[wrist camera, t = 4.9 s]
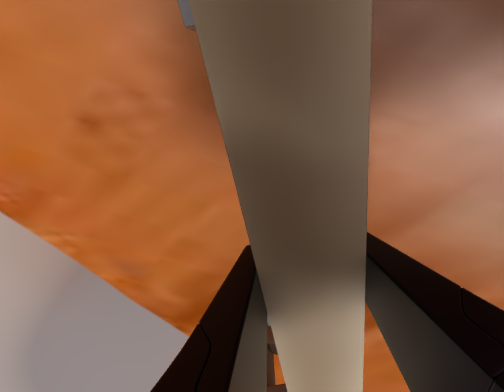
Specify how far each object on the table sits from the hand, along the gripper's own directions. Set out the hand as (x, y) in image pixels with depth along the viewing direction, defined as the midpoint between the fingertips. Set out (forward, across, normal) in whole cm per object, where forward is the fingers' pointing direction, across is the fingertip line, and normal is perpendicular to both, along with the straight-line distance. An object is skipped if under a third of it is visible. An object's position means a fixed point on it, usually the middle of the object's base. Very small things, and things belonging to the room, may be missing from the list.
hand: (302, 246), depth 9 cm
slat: (+1, 0, 0) cm, 1 cm away
